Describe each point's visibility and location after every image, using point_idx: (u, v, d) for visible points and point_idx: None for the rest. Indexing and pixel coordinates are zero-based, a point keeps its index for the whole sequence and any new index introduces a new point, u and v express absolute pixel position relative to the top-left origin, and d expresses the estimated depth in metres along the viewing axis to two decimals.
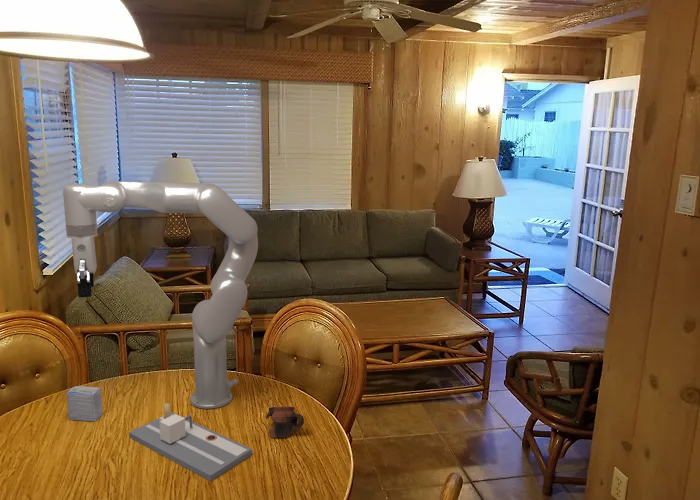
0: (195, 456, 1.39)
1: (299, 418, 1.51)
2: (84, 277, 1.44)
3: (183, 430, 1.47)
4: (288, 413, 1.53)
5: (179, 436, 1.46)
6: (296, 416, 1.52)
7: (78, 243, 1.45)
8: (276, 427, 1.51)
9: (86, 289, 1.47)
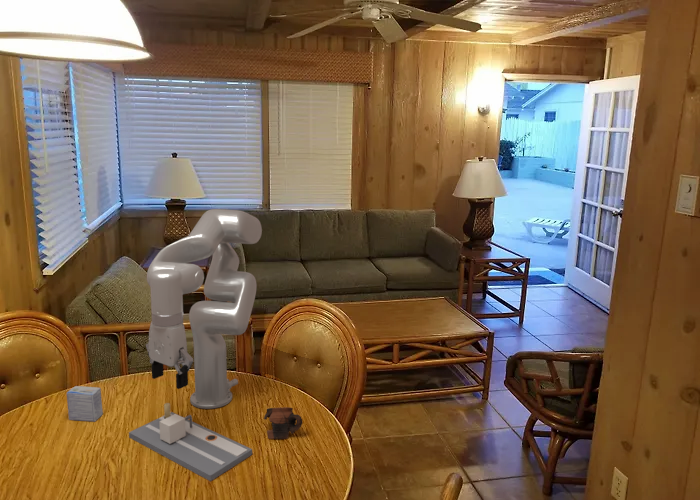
0: (195, 456, 1.39)
1: (297, 419, 1.51)
2: None
3: (183, 430, 1.47)
4: (286, 414, 1.53)
5: (179, 436, 1.46)
6: (294, 417, 1.52)
7: None
8: (274, 428, 1.50)
9: None
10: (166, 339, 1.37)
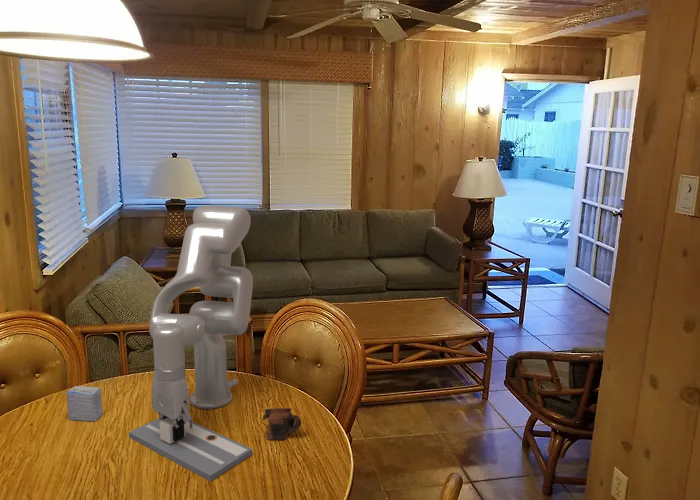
0: (195, 456, 1.39)
1: (296, 419, 1.51)
2: None
3: None
4: (285, 415, 1.52)
5: None
6: (293, 417, 1.51)
7: None
8: (272, 429, 1.50)
9: None
10: (169, 393, 1.40)
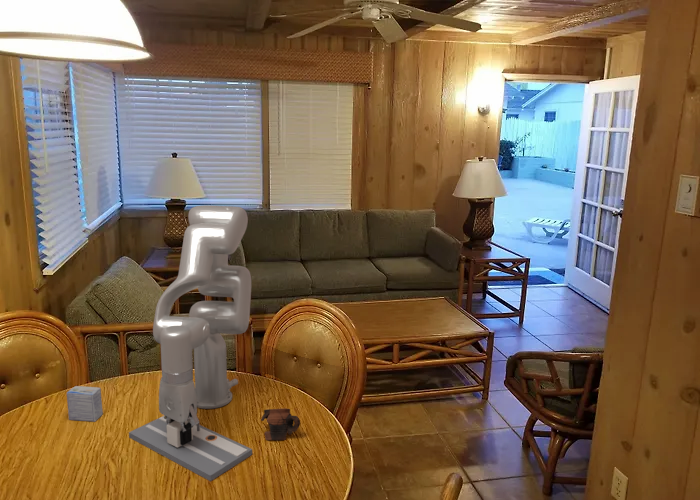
0: (195, 456, 1.39)
1: (295, 420, 1.50)
2: None
3: None
4: (284, 415, 1.52)
5: None
6: (292, 418, 1.51)
7: None
8: (271, 429, 1.50)
9: None
10: (176, 396, 1.38)
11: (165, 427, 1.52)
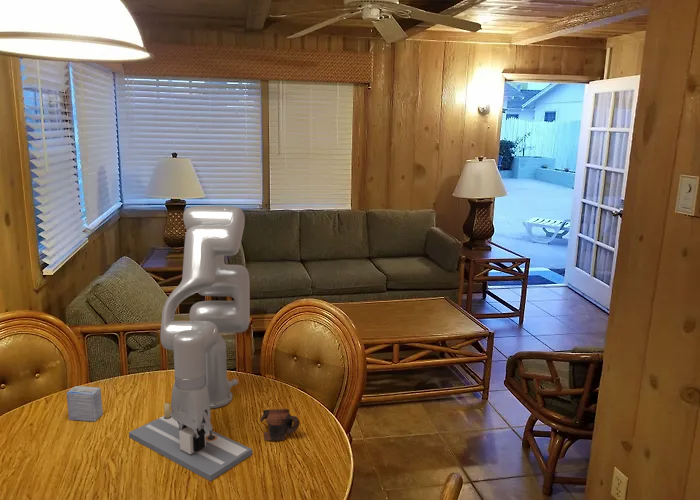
0: (195, 456, 1.39)
1: (294, 420, 1.50)
2: None
3: None
4: (283, 415, 1.52)
5: None
6: (291, 418, 1.51)
7: None
8: (271, 430, 1.49)
9: None
10: (190, 402, 1.36)
11: (165, 427, 1.52)
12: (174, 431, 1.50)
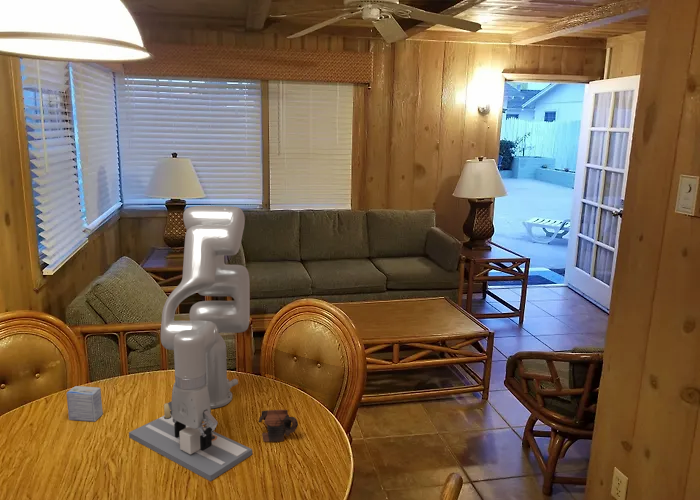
0: (195, 456, 1.39)
1: (293, 421, 1.50)
2: None
3: None
4: (281, 416, 1.51)
5: None
6: (290, 419, 1.50)
7: None
8: (269, 430, 1.49)
9: None
10: (190, 402, 1.36)
11: (165, 427, 1.52)
12: (174, 431, 1.50)
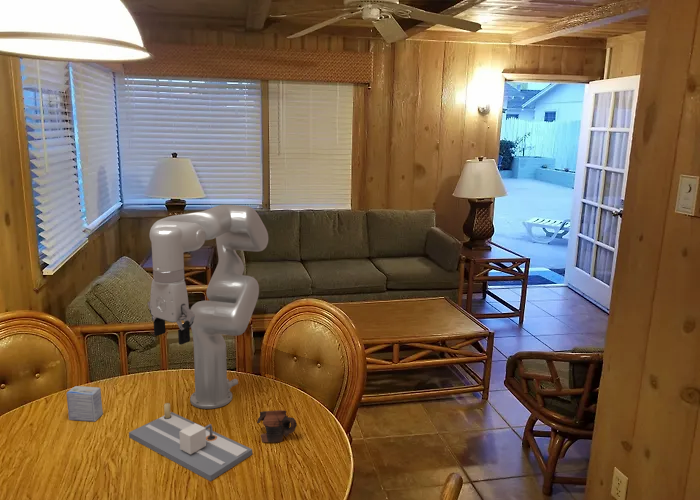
0: (195, 456, 1.39)
1: (291, 422, 1.49)
2: None
3: (204, 440, 1.42)
4: (280, 417, 1.51)
5: (200, 446, 1.41)
6: (288, 420, 1.50)
7: None
8: (268, 431, 1.49)
9: None
10: (168, 295, 1.39)
11: (165, 427, 1.52)
12: (174, 431, 1.50)
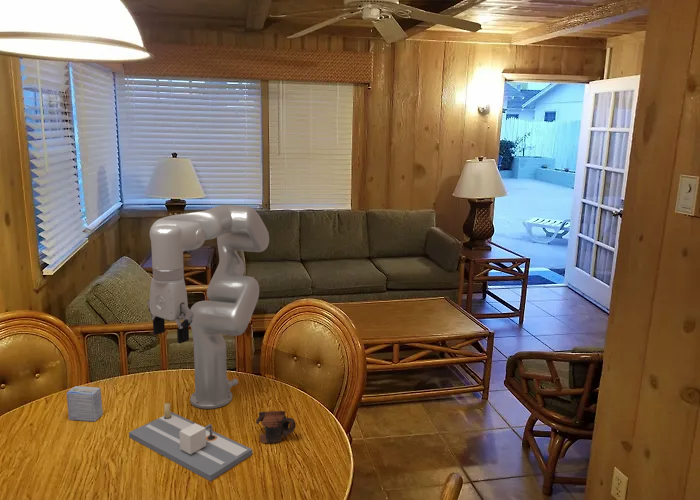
0: (195, 456, 1.39)
1: (291, 422, 1.49)
2: None
3: (204, 440, 1.42)
4: (279, 417, 1.51)
5: (200, 446, 1.41)
6: (287, 420, 1.50)
7: None
8: (267, 432, 1.48)
9: None
10: (167, 294, 1.39)
11: (165, 427, 1.52)
12: (174, 431, 1.50)
